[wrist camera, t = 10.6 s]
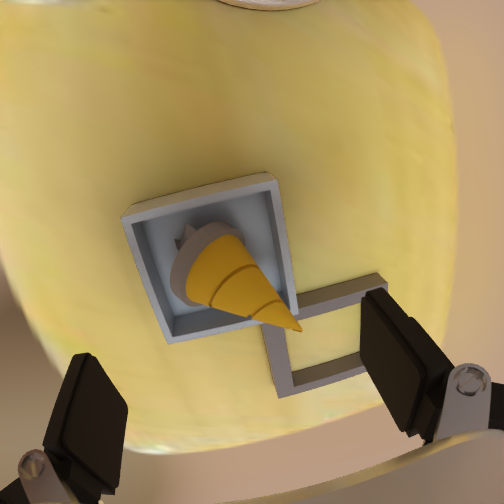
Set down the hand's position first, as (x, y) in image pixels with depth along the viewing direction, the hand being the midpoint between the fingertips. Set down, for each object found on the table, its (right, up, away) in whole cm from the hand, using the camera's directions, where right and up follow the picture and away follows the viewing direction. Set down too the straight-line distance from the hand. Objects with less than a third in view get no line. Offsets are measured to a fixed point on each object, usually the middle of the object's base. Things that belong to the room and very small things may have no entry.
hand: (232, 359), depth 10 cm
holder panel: (+7, -3, +16) cm, 17 cm away
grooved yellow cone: (-1, +4, +11) cm, 12 cm away
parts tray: (-2, +4, +12) cm, 12 cm away
